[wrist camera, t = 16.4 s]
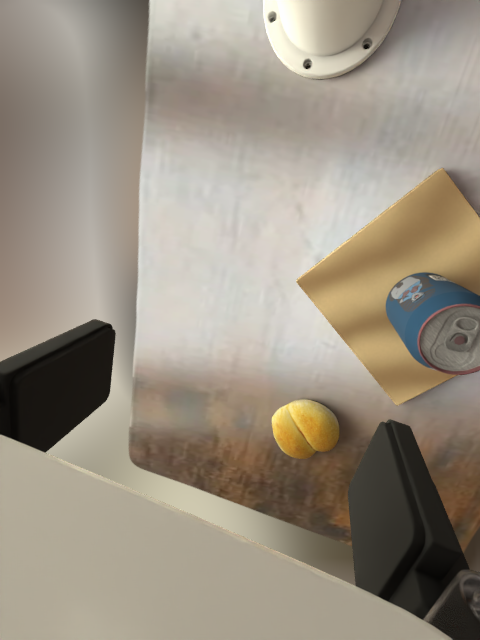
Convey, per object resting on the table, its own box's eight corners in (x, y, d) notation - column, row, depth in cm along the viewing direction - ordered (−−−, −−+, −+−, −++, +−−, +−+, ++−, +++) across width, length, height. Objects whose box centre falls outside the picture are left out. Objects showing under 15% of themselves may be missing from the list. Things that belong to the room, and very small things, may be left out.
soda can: (438, 337, 36) (489, 392, 25) (375, 322, 37) (396, 368, 26) (464, 278, 33) (534, 309, 22) (395, 264, 34) (429, 287, 23)
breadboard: (296, 279, 39) (295, 281, 38) (437, 169, 32) (443, 167, 31) (394, 399, 41) (396, 406, 39) (548, 319, 34) (558, 324, 32)
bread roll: (348, 435, 44) (351, 456, 40) (291, 454, 47) (289, 474, 43) (320, 387, 43) (320, 403, 39) (263, 409, 46) (258, 426, 42)
